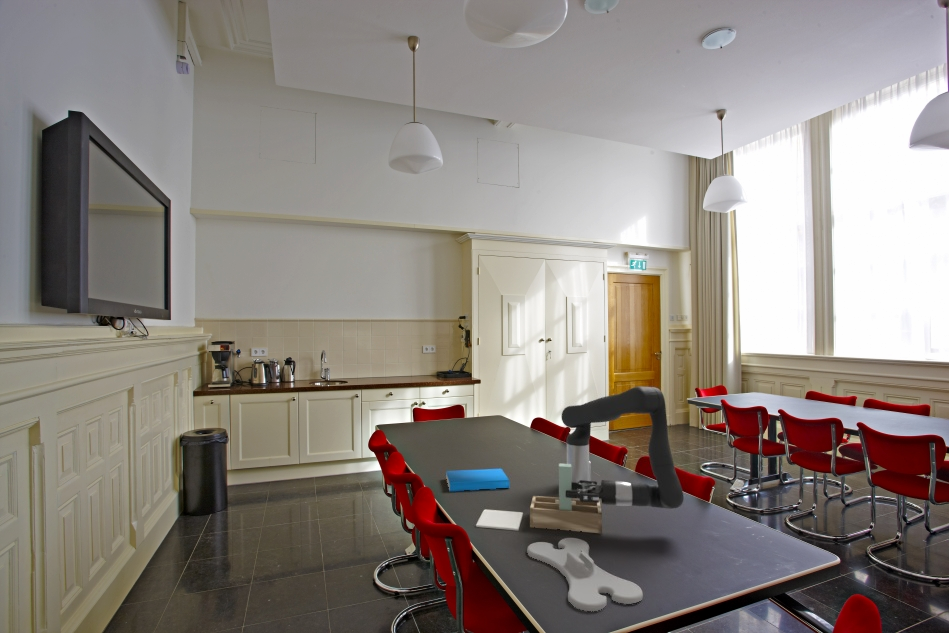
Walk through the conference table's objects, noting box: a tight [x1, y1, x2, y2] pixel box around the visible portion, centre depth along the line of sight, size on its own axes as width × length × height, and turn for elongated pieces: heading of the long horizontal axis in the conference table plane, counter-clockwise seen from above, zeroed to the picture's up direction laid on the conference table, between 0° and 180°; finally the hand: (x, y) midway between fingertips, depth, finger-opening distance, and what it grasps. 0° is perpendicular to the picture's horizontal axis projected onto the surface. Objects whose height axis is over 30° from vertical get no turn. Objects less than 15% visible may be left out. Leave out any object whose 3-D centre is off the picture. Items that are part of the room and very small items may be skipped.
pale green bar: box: [558, 463, 573, 511], centre depth 155 cm, size 4×4×20 cm
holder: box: [526, 537, 644, 613], centre depth 125 cm, size 19×34×5 cm, turn 16°
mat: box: [475, 509, 524, 531], centre depth 159 cm, size 14×14×1 cm
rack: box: [529, 495, 603, 534], centre depth 157 cm, size 12×23×6 cm, turn 78°
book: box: [445, 468, 510, 492], centre depth 198 cm, size 17×4×25 cm
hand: (565, 489), depth 155 cm, fingers open, 8 cm apart
